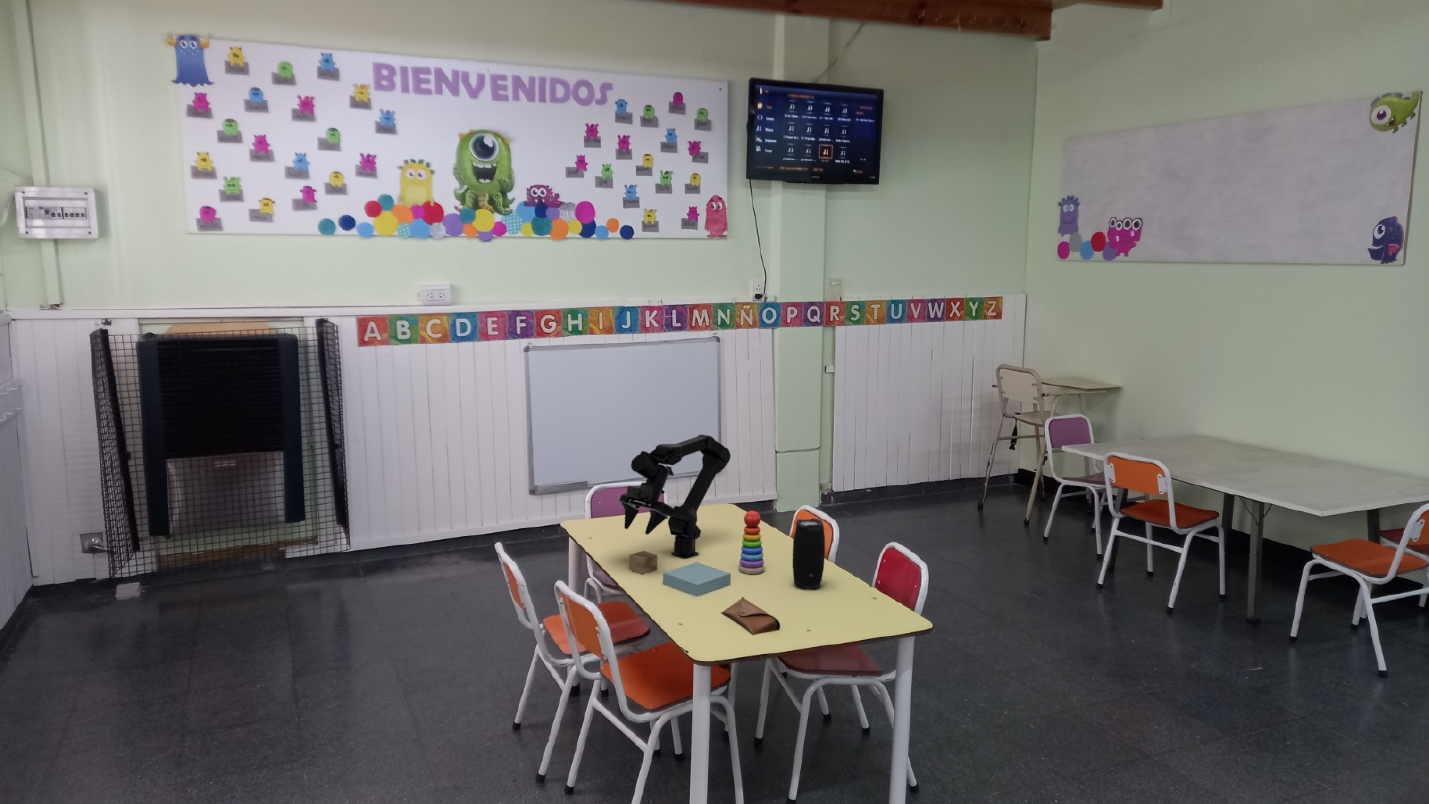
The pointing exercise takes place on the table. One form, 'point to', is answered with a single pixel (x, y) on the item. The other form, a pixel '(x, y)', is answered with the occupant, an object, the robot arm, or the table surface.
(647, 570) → the walnut block
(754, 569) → the stacking toy
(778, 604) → the table surface
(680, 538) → the robot arm
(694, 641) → the table surface
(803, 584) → the portable speaker
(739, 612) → the sunglasses case
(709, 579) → the teal base box
